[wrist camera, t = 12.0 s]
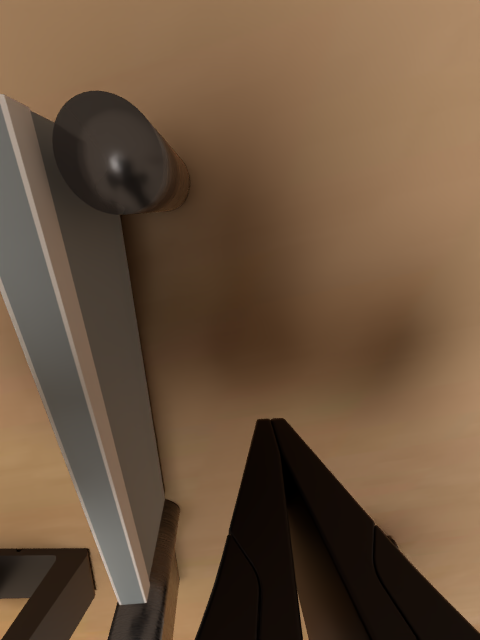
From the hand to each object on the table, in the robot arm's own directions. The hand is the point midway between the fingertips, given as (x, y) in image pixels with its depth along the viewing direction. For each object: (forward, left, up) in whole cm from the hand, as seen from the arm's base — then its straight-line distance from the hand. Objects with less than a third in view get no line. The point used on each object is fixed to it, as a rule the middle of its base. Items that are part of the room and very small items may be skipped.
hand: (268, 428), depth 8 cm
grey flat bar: (-1, +6, -4) cm, 7 cm away
